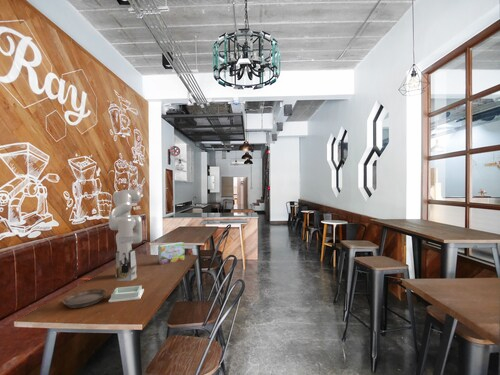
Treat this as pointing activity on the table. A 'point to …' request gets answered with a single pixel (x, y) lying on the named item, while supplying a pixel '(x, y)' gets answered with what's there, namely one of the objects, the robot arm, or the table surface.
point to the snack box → (170, 253)
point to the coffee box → (131, 267)
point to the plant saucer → (84, 298)
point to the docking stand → (126, 293)
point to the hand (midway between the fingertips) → (126, 270)
